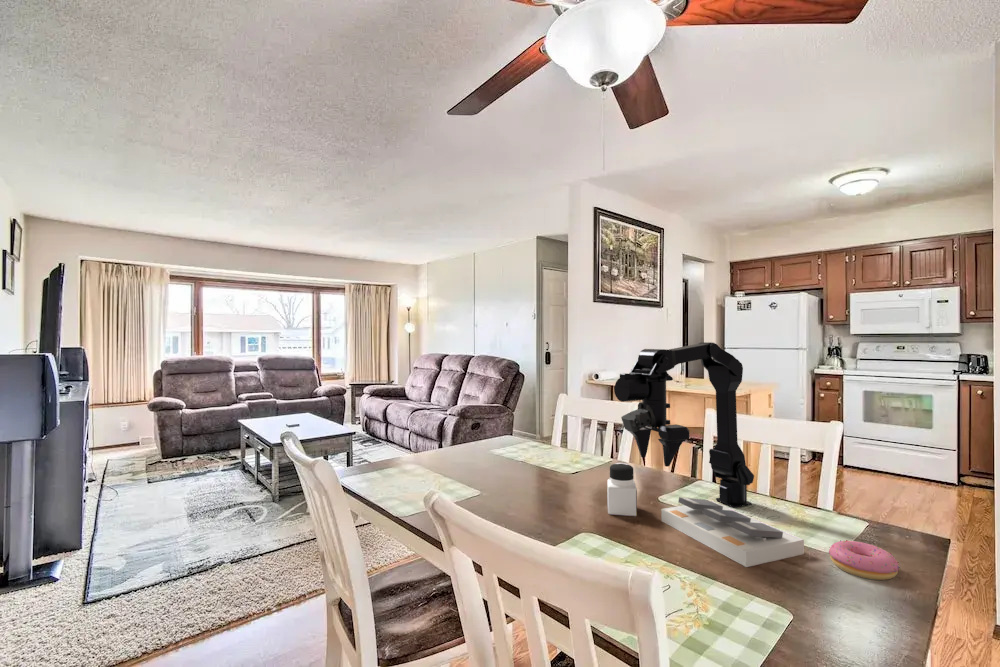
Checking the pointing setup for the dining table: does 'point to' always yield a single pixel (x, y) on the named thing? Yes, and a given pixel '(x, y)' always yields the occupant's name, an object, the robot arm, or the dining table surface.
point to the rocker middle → (725, 515)
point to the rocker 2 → (756, 529)
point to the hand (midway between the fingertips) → (654, 461)
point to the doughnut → (864, 560)
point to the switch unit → (732, 537)
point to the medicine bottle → (621, 490)
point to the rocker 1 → (699, 504)
